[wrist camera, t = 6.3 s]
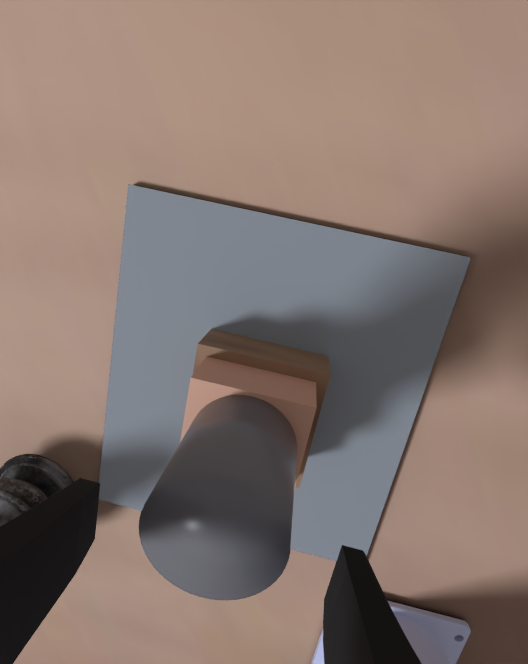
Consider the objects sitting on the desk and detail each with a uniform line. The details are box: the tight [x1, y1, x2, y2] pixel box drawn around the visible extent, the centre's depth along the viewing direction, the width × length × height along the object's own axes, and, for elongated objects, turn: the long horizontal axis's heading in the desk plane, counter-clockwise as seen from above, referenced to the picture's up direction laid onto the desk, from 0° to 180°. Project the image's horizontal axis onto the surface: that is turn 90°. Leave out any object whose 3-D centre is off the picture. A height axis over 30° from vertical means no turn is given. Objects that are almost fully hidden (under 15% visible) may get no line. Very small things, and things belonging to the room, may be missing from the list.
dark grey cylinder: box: [139, 395, 297, 600], centre depth 14 cm, size 4×4×5 cm
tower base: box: [193, 329, 330, 488], centre depth 20 cm, size 6×6×2 cm
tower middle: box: [180, 356, 317, 490], centre depth 18 cm, size 5×5×2 cm
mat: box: [99, 184, 471, 561], centre depth 21 cm, size 18×16×1 cm
